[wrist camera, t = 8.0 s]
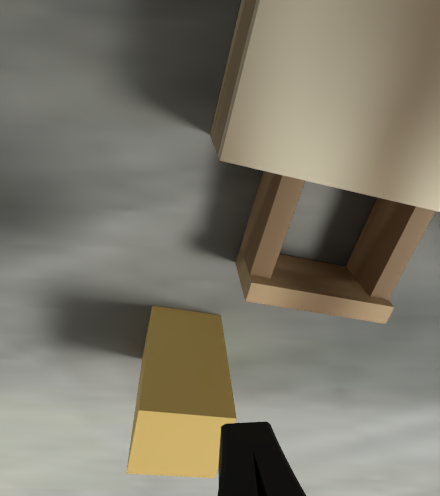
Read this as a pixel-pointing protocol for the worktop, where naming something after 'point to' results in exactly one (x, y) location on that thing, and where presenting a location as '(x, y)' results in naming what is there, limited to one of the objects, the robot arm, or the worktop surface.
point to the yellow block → (181, 396)
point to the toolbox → (309, 271)
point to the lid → (342, 96)
